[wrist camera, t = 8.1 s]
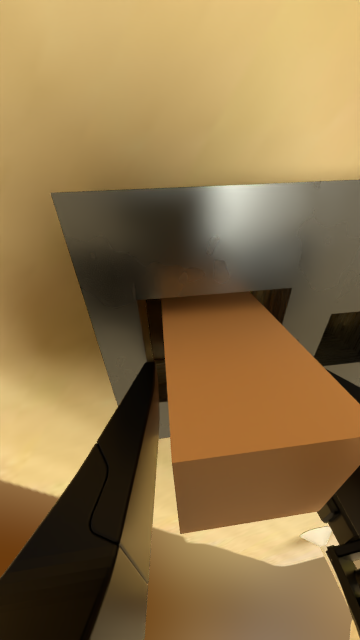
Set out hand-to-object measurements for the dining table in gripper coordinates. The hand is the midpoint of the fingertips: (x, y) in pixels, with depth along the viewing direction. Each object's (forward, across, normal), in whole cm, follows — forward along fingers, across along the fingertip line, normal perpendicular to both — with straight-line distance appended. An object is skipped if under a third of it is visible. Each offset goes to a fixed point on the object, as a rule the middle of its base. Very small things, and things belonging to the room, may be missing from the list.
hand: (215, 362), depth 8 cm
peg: (+4, 0, 0) cm, 4 cm away
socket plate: (+4, -2, 0) cm, 4 cm away
